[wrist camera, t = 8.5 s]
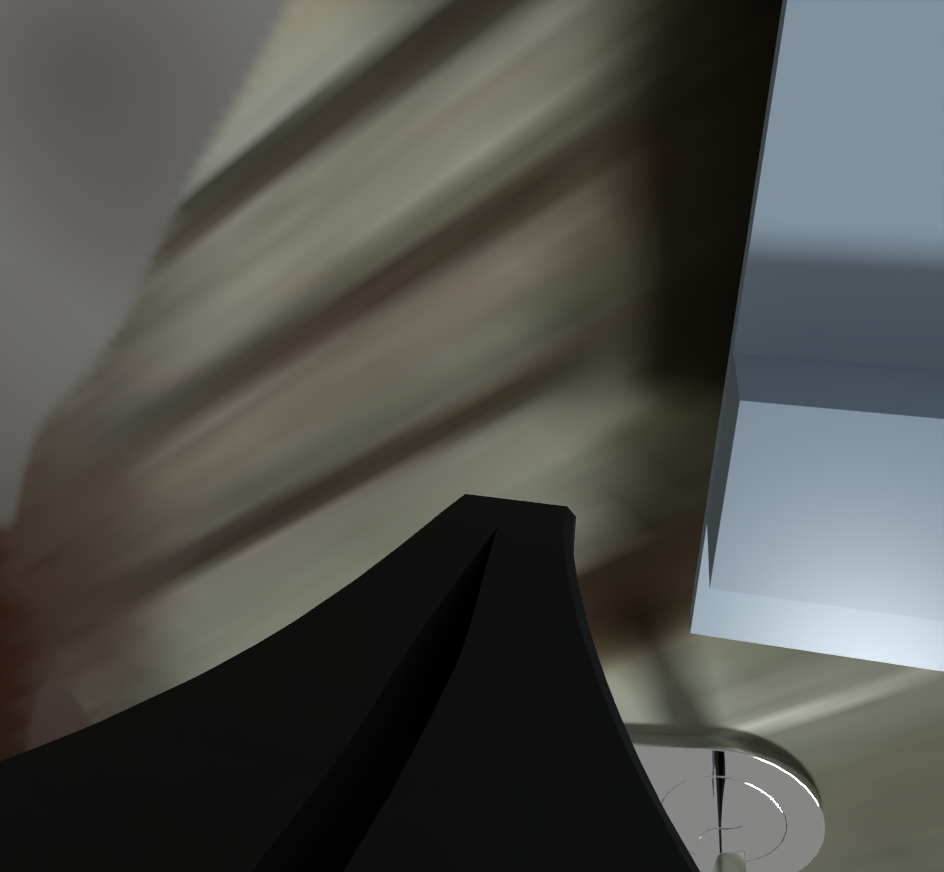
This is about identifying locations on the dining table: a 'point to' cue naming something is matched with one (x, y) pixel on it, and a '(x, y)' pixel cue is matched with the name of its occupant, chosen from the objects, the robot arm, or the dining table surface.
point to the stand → (734, 802)
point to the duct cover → (838, 351)
